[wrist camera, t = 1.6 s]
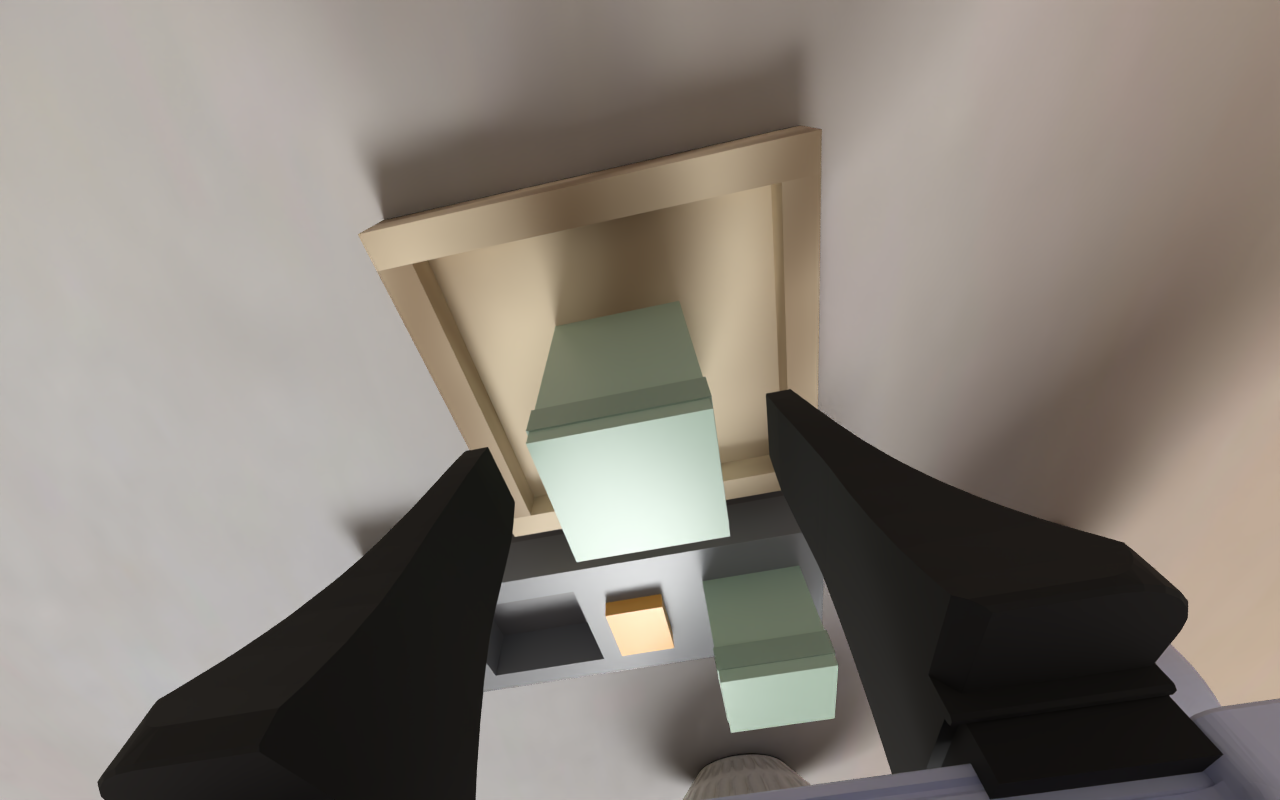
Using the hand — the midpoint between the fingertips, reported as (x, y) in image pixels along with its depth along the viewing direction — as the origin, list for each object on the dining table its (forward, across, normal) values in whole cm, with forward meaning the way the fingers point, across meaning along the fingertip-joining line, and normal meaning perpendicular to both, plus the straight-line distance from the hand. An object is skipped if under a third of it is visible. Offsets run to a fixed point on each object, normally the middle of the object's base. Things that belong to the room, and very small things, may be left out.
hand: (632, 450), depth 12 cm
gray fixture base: (+5, +4, +12) cm, 13 cm away
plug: (+4, 0, 0) cm, 5 cm away
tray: (+5, 0, 0) cm, 5 cm away
